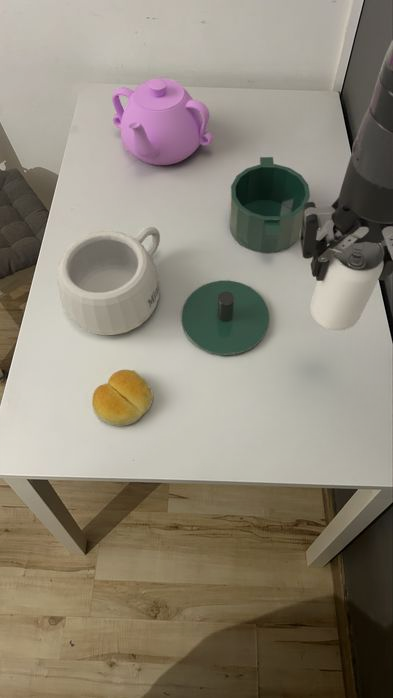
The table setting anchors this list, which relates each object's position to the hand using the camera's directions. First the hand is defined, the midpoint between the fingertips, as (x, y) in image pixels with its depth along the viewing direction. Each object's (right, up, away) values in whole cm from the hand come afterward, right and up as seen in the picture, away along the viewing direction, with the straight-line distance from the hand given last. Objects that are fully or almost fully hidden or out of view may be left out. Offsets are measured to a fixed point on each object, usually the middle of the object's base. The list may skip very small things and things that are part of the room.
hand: (349, 274), depth 59 cm
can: (0, -4, +7) cm, 8 cm away
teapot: (-26, +33, +47) cm, 63 cm away
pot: (-5, +15, +36) cm, 39 cm away
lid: (-13, -3, +25) cm, 29 cm away
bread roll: (-29, -17, +19) cm, 39 cm away
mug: (-31, +1, +29) cm, 43 cm away
